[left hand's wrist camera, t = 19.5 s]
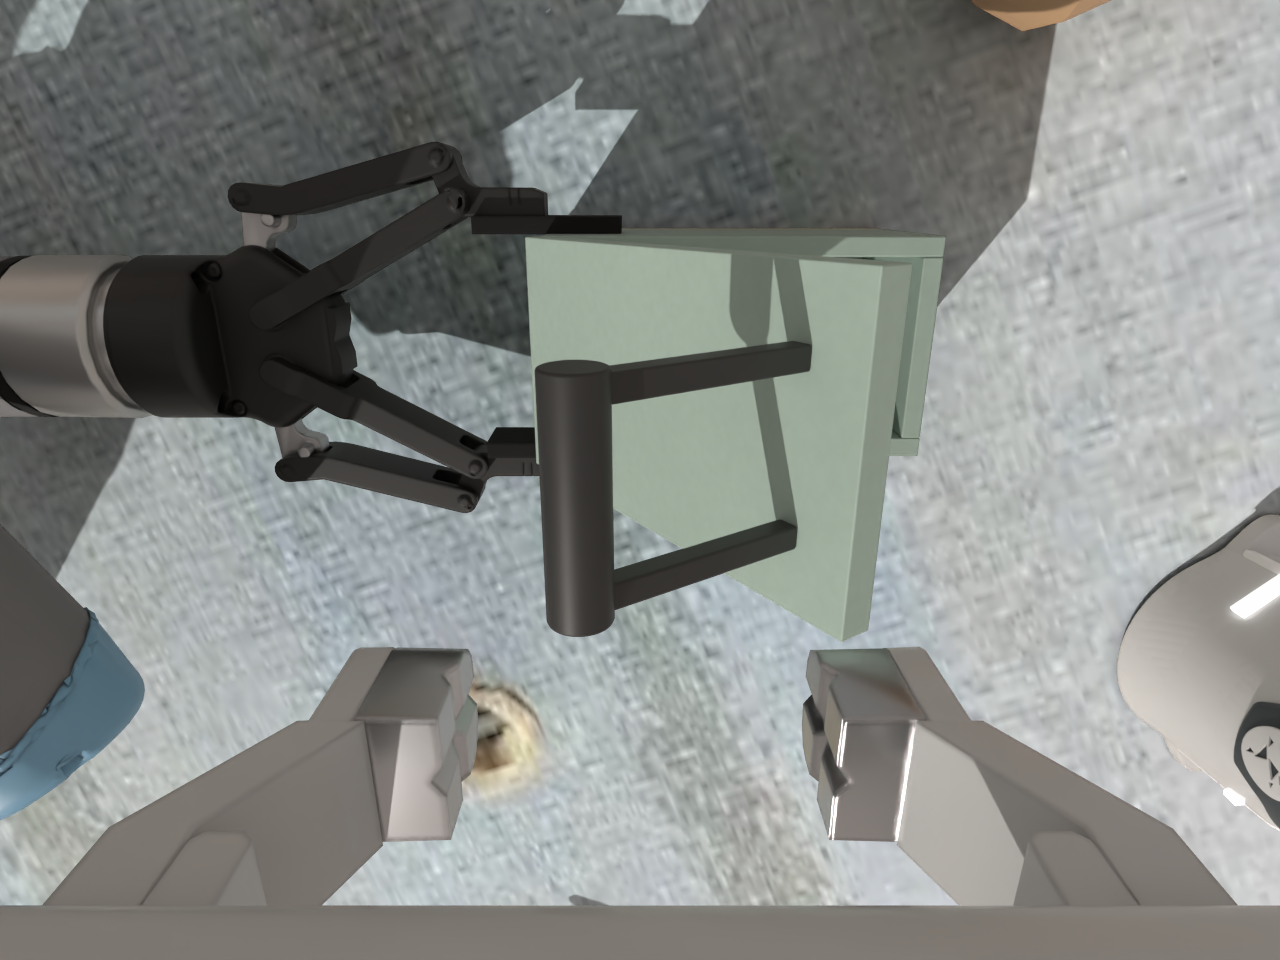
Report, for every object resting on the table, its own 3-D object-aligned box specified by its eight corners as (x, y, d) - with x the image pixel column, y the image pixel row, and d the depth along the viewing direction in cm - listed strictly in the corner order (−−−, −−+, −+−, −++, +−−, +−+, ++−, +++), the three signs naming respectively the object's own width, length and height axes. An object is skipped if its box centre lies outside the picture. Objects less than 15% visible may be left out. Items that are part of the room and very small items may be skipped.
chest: (876, 228, 40) (947, 235, 31) (858, 403, 44) (917, 456, 34) (559, 228, 40) (538, 235, 31) (565, 403, 43) (548, 457, 34)
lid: (913, 262, 17) (592, 283, 13) (868, 631, 20) (602, 751, 16) (548, 236, 31) (332, 241, 26) (557, 459, 34) (367, 497, 30)
